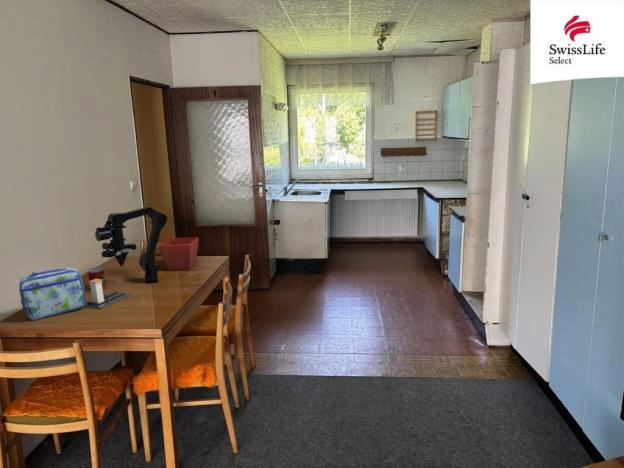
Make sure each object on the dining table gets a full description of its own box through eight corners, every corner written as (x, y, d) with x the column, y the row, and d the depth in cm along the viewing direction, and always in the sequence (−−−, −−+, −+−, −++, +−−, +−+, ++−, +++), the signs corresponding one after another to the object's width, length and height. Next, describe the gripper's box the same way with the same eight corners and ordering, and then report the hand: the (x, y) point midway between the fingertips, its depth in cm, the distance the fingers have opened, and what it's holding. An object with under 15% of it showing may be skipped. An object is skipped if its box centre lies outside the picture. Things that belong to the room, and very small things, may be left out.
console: (114, 292, 246) (113, 288, 245) (131, 295, 241) (131, 290, 240) (82, 306, 228) (81, 301, 227) (100, 309, 223) (99, 304, 222)
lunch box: (24, 323, 210) (16, 279, 205) (23, 316, 219) (15, 273, 214) (87, 309, 223) (81, 267, 219) (84, 303, 232) (78, 262, 228)
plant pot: (171, 263, 297) (168, 238, 293) (201, 262, 296) (198, 236, 292) (161, 273, 278) (157, 245, 274) (192, 272, 277) (189, 244, 273)
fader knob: (99, 299, 232) (95, 278, 230) (105, 300, 230) (102, 279, 228) (92, 302, 228) (88, 281, 226) (98, 303, 227) (95, 282, 224)
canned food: (100, 291, 250) (97, 271, 247) (87, 290, 251) (84, 271, 249) (109, 286, 257) (106, 267, 255) (96, 286, 259) (93, 266, 256)
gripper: (119, 232, 256) (123, 260, 259) (91, 240, 240) (96, 269, 243) (135, 233, 252) (139, 261, 255) (107, 241, 235) (112, 271, 238)
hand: (121, 266), depth 248 cm, fingers closed
